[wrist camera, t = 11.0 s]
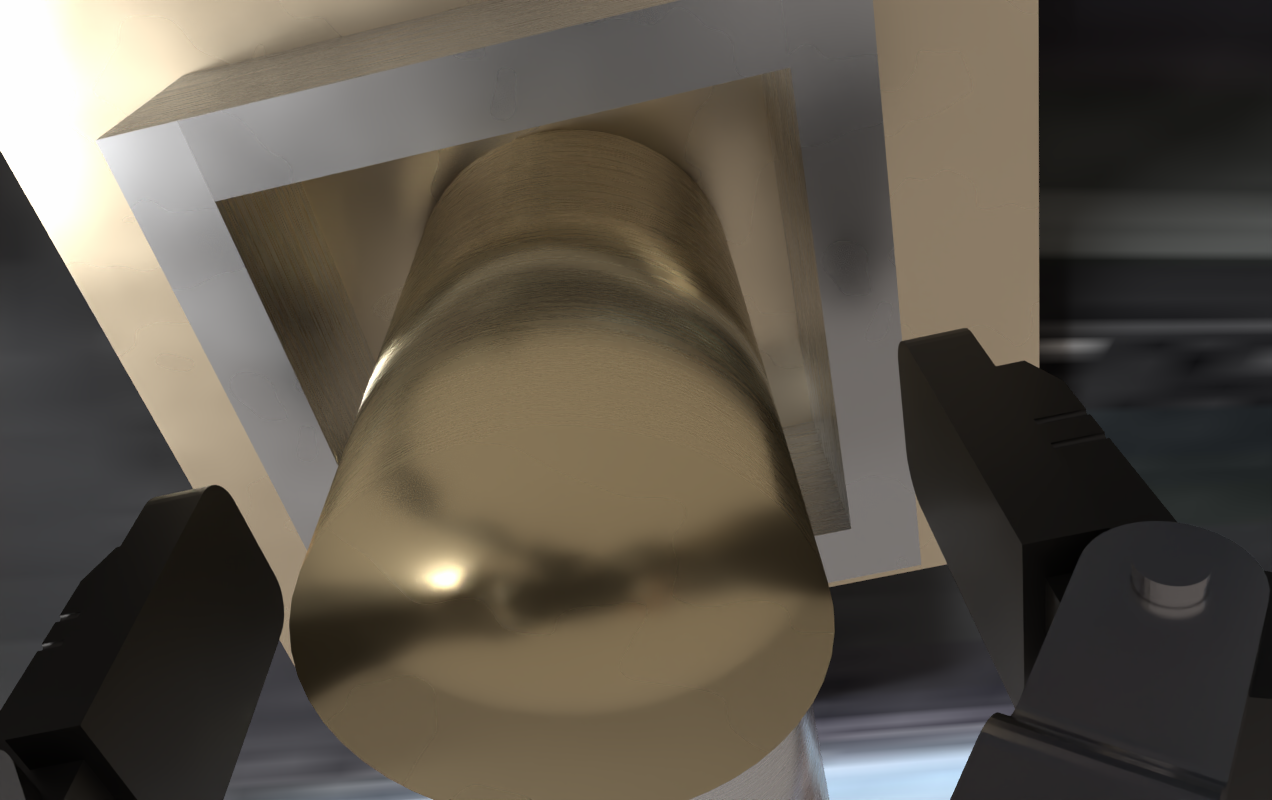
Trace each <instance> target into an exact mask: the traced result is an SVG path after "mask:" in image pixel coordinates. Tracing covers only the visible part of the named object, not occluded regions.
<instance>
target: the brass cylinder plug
mask: <svg viewBox="0 0 1272 800" xmlns="http://www.w3.org/2000/svg"><path fill="white" fill-rule="evenodd" d="M289 631H290V644H291V653H292V656H293V660H294V664H295V668H296V671H297V675H298V678H299V680H300V682H301V684H302V686H303V689H304V691H305V693H306V695H307V697H308V699H309V701H310V703H311V704H312V706H313V707H314V709H315V710H316V712H317V713H318V715H319V716H320V718H321V719H322V721H323V722H324V723H325V724H326V726H327V727H328V728H329V729H330V730H331V731H332V732H333V733H334V735H335V736H336V737H337V738H338V739H339V740H340V741H341V742H342V743H343V744H344V745H345V746H346V747H347V748H348V749H350V750H351V751H352V752H353V753H354V754H355V755H357V756H358V757H359V758H360V759H361V760H362V761H364V762H365V763H367V764H368V765H369V766H371V767H372V768H374V769H375V770H377V771H378V772H380V773H381V774H383V775H384V776H386V777H387V778H389V779H391V780H393V781H395V782H397V783H399V784H400V785H402V786H404V787H406V788H408V789H410V790H412V791H414V792H416V793H419V794H421V795H424V796H426V797H428V798H431V799H433V800H689V799H692V798H694V797H697V796H699V795H702V794H704V793H707V792H709V791H711V790H713V789H715V788H717V787H719V786H721V785H722V784H724V783H726V782H728V781H730V780H732V779H734V778H735V777H737V776H739V775H740V774H742V773H743V772H745V771H746V770H748V769H749V768H751V767H752V766H754V765H755V764H757V763H758V762H759V761H760V760H762V759H763V758H764V757H765V756H766V755H768V754H769V753H770V752H771V751H772V750H774V749H775V748H776V747H777V746H778V745H779V744H780V743H781V742H782V741H783V740H784V739H785V738H786V737H787V736H788V735H789V734H790V733H791V731H792V730H793V729H794V728H795V727H796V726H797V725H798V724H799V722H800V721H801V719H802V718H803V716H804V715H805V714H806V712H807V711H808V709H809V708H810V707H811V705H812V704H813V702H814V700H815V698H816V696H817V694H818V692H819V690H820V688H821V686H822V684H823V682H824V679H825V676H826V672H827V669H828V666H829V663H830V660H831V656H832V648H833V641H834V633H835V628H834V607H833V602H832V598H831V593H830V589H829V585H828V581H827V577H826V574H825V570H824V567H823V564H822V560H821V557H820V554H819V550H818V547H817V543H816V540H815V537H814V533H813V530H812V527H811V523H810V520H809V516H808V513H807V510H806V506H805V503H804V500H803V496H802V493H801V489H800V486H799V483H798V479H797V476H796V473H795V469H794V466H793V462H792V459H791V456H790V452H789V449H788V446H787V442H786V439H785V435H784V432H783V429H782V425H781V422H780V419H779V415H778V412H777V408H776V405H775V402H774V398H773V395H772V392H771V388H770V385H769V381H768V378H767V375H766V371H765V368H764V365H763V361H762V358H761V354H760V351H759V348H758V344H757V341H756V338H755V334H754V331H753V327H752V324H751V321H750V317H749V314H748V311H747V307H746V304H745V300H744V297H743V294H742V290H741V287H740V284H739V280H738V277H737V273H736V270H735V267H734V263H733V260H732V257H731V253H730V250H729V246H728V243H727V240H726V236H725V233H724V231H723V228H722V226H721V223H720V221H719V218H718V216H717V214H716V212H715V210H714V209H713V207H712V205H711V203H710V202H709V200H708V198H707V197H706V196H705V194H704V193H703V192H702V191H701V189H700V188H699V187H698V185H697V184H696V183H695V182H694V181H693V180H692V179H691V178H690V177H689V176H688V175H687V174H686V173H685V172H684V171H683V170H682V169H681V168H680V167H678V166H677V165H676V164H674V163H673V162H672V161H670V160H669V159H667V158H666V157H665V156H663V155H662V154H660V153H658V152H656V151H654V150H653V149H651V148H649V147H647V146H645V145H643V144H641V143H638V142H635V141H633V140H630V139H628V138H625V137H622V136H618V135H614V134H610V133H606V132H601V131H592V130H582V129H567V130H552V131H546V132H539V133H534V134H531V135H527V136H524V137H520V138H517V139H514V140H512V141H509V142H507V143H505V144H503V145H500V146H498V147H496V148H494V149H492V150H491V151H489V152H488V153H486V154H484V155H483V156H481V157H479V158H478V159H476V160H475V161H474V162H473V163H471V164H470V165H469V166H468V167H467V168H465V169H464V170H463V171H462V172H461V173H460V174H459V175H458V176H457V177H456V178H455V179H454V180H453V181H452V183H451V184H450V185H449V186H448V187H447V188H446V190H445V191H444V193H443V194H442V196H441V197H440V199H439V200H438V201H437V203H436V205H435V207H434V209H433V211H432V213H431V215H430V217H429V219H428V221H427V224H426V226H425V229H424V232H423V235H422V237H421V240H420V243H419V246H418V248H417V251H416V254H415V257H414V259H413V262H412V265H411V268H410V270H409V273H408V276H407V279H406V281H405V284H404V287H403V290H402V292H401V295H400V298H399V301H398V303H397V306H396V309H395V312H394V314H393V317H392V320H391V323H390V325H389V328H388V331H387V334H386V336H385V339H384V342H383V345H382V347H381V350H380V353H379V356H378V358H377V361H376V364H375V366H374V369H373V372H372V375H371V377H370V380H369V383H368V386H367V388H366V391H365V394H364V397H363V399H362V402H361V405H360V408H359V410H358V413H357V416H356V419H355V421H354V424H353V427H352V430H351V432H350V435H349V438H348V441H347V443H346V446H345V449H344V452H343V454H342V457H341V460H340V463H339V465H338V468H337V471H336V474H335V476H334V479H333V482H332V485H331V487H330V490H329V493H328V496H327V498H326V501H325V504H324V507H323V509H322V512H321V515H320V517H319V520H318V523H317V526H316V528H315V531H314V534H313V537H312V539H311V542H310V545H309V548H308V550H307V553H306V556H305V559H304V561H303V564H302V567H301V570H300V573H299V576H298V579H297V583H296V586H295V589H294V593H293V596H292V601H291V610H290V620H289Z"/></svg>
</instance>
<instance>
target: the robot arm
mask: <svg viewBox="0 0 1272 800" xmlns="http://www.w3.org/2000/svg"><path fill="white" fill-rule="evenodd" d="M898 366H899V377H900V389H901V400H902V411H903V422H904V433H905V444H906V454H907V461H908V467H909V471H910V476H911V480H912V484H913V487H914V491H915V494H916V497H917V500H918V502H919V505H920V507H921V509H922V511H923V513H924V516H925V518H926V520H927V522H928V524H929V526H930V528H931V531H932V533H933V535H934V537H935V539H936V541H937V543H938V545H939V548H940V550H941V552H942V554H943V556H944V558H945V560H946V562H947V565H948V567H949V569H950V571H951V573H952V575H953V577H954V579H955V582H956V584H957V586H958V588H959V590H960V592H961V594H962V597H963V599H964V601H965V603H966V605H967V607H968V609H969V611H970V614H971V616H972V618H973V620H974V622H975V624H976V626H977V628H978V631H979V633H980V635H981V637H982V639H983V641H984V643H985V645H986V648H987V650H988V652H989V654H990V656H991V658H992V660H993V662H994V665H995V667H996V669H997V671H998V673H999V675H1000V677H1001V680H1002V682H1003V684H1004V686H1005V688H1006V690H1007V692H1008V694H1009V697H1010V699H1011V701H1012V703H1013V705H1014V707H1015V710H1014V712H1013V714H1012V715H1011V716H1007V715H1004V714H1001V713H998V712H997V713H995V714H993V715H992V716H991V717H990V718H989V719H988V721H987V722H986V724H985V725H984V727H983V729H982V730H981V732H980V734H979V736H978V738H977V741H976V743H975V745H974V747H973V750H972V752H971V754H970V756H969V759H968V761H967V763H966V765H965V768H964V770H963V772H962V774H961V777H960V779H959V781H958V783H957V786H956V788H955V790H954V792H953V795H952V797H951V799H950V800H1272V572H1268V571H1263V569H1262V567H1261V566H1260V564H1259V563H1258V562H1257V561H1256V559H1255V558H1254V557H1253V556H1252V555H1251V554H1249V553H1248V552H1247V551H1246V550H1245V549H1244V548H1242V547H1241V546H1239V545H1238V544H1236V543H1235V542H1233V541H1232V540H1230V539H1228V538H1226V537H1224V536H1222V535H1220V534H1218V533H1215V532H1212V531H1210V530H1207V529H1204V528H1201V527H1197V526H1193V525H1189V524H1183V523H1177V521H1176V520H1175V519H1174V518H1173V516H1172V515H1171V514H1170V513H1169V511H1168V510H1167V509H1166V508H1165V507H1164V505H1163V504H1162V503H1161V502H1160V500H1159V499H1158V498H1157V497H1156V495H1155V494H1154V493H1153V492H1152V490H1151V489H1150V488H1149V487H1148V485H1147V484H1146V483H1145V482H1144V480H1143V479H1142V478H1141V477H1140V476H1139V474H1138V473H1137V472H1136V471H1135V469H1134V468H1133V467H1132V466H1131V464H1130V463H1129V462H1128V461H1127V459H1126V458H1125V457H1124V456H1123V454H1122V453H1121V452H1120V451H1119V449H1118V448H1117V447H1116V446H1115V445H1114V443H1113V442H1112V441H1111V440H1110V438H1107V439H1106V437H1105V433H1104V431H1103V430H1102V428H1101V427H1100V426H1099V425H1098V423H1097V422H1096V421H1095V420H1094V418H1093V417H1092V416H1091V415H1090V414H1089V415H1087V413H1086V409H1085V407H1084V406H1083V405H1082V404H1081V402H1080V401H1079V400H1078V399H1077V397H1076V396H1075V395H1074V394H1073V392H1072V391H1071V390H1070V389H1069V387H1068V386H1067V385H1066V384H1065V382H1064V381H1063V380H1061V379H1059V378H1057V377H1055V376H1053V375H1051V374H1049V373H1047V372H1046V371H1044V370H1042V369H1040V368H1038V367H1036V366H1034V365H1032V364H1030V363H1028V362H1027V361H1025V360H1024V361H1019V362H1014V363H1009V364H1005V365H1000V366H995V364H994V363H993V362H992V360H991V359H990V357H989V356H988V355H987V353H986V352H985V350H984V349H983V348H982V346H981V345H980V343H979V342H978V341H977V339H976V338H975V336H974V335H973V334H972V332H971V331H970V330H969V329H968V328H961V329H956V330H952V331H947V332H942V333H937V334H933V335H928V336H923V337H918V338H914V339H909V340H904V341H901V342H900V343H899V346H898ZM60 618H61V621H60V622H55V624H54V625H53V627H52V629H51V630H50V632H49V634H48V635H47V637H46V638H45V640H44V642H43V643H42V645H43V650H42V651H37V653H36V654H35V656H34V658H33V659H32V661H31V662H30V664H29V666H28V667H27V669H26V670H25V672H24V674H23V675H22V677H21V679H20V680H19V682H18V683H17V685H16V687H15V688H14V690H13V691H12V693H11V695H10V696H9V698H8V699H7V701H6V703H5V704H4V706H3V707H2V709H1V711H0V800H223V799H224V796H225V793H226V790H227V787H228V785H229V782H230V779H231V776H232V773H233V770H234V767H235V765H236V762H237V759H238V756H239V753H240V750H241V747H242V745H243V742H244V739H245V736H246V733H247V730H248V727H249V724H250V722H251V719H252V716H253V713H254V710H255V707H256V704H257V702H258V699H259V696H260V693H261V690H262V687H263V684H264V682H265V679H266V676H267V673H268V670H269V667H270V664H271V662H272V659H273V656H274V653H275V650H276V647H277V644H278V641H279V639H280V636H281V633H282V629H283V624H284V602H283V596H282V592H281V588H280V585H279V582H278V580H277V578H276V576H275V574H274V572H273V570H272V569H271V567H270V565H269V563H268V561H267V559H266V558H265V556H264V554H263V552H262V550H261V548H260V547H259V545H258V543H257V541H256V539H255V538H254V536H253V534H252V532H251V530H250V528H249V527H248V525H247V523H246V521H245V519H244V517H243V516H242V514H241V512H240V510H239V508H238V506H237V505H236V503H235V501H234V499H233V498H232V496H231V495H230V494H229V492H228V491H227V490H225V489H224V488H223V487H221V486H219V485H210V486H206V487H201V488H196V489H191V490H187V491H182V492H177V493H172V494H168V495H163V496H158V497H155V498H152V499H151V500H149V501H148V502H147V504H146V505H145V506H144V508H143V510H142V511H141V513H140V515H139V516H138V518H137V520H136V521H135V523H134V525H133V526H132V528H131V530H130V531H129V533H128V535H127V536H126V538H125V540H124V541H123V543H122V545H121V546H120V547H117V548H115V549H114V550H113V551H112V552H111V553H110V554H109V555H108V556H107V557H106V558H105V559H104V560H103V561H102V562H101V563H100V564H99V565H98V566H96V567H95V568H94V569H93V570H92V571H91V572H90V573H89V574H88V575H87V576H86V577H85V578H84V579H83V580H82V581H81V582H80V584H79V585H78V587H77V589H76V590H75V592H74V593H73V595H72V597H71V598H70V600H69V601H68V603H67V605H66V606H65V608H64V609H63V611H62V613H61V614H60Z"/></svg>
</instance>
